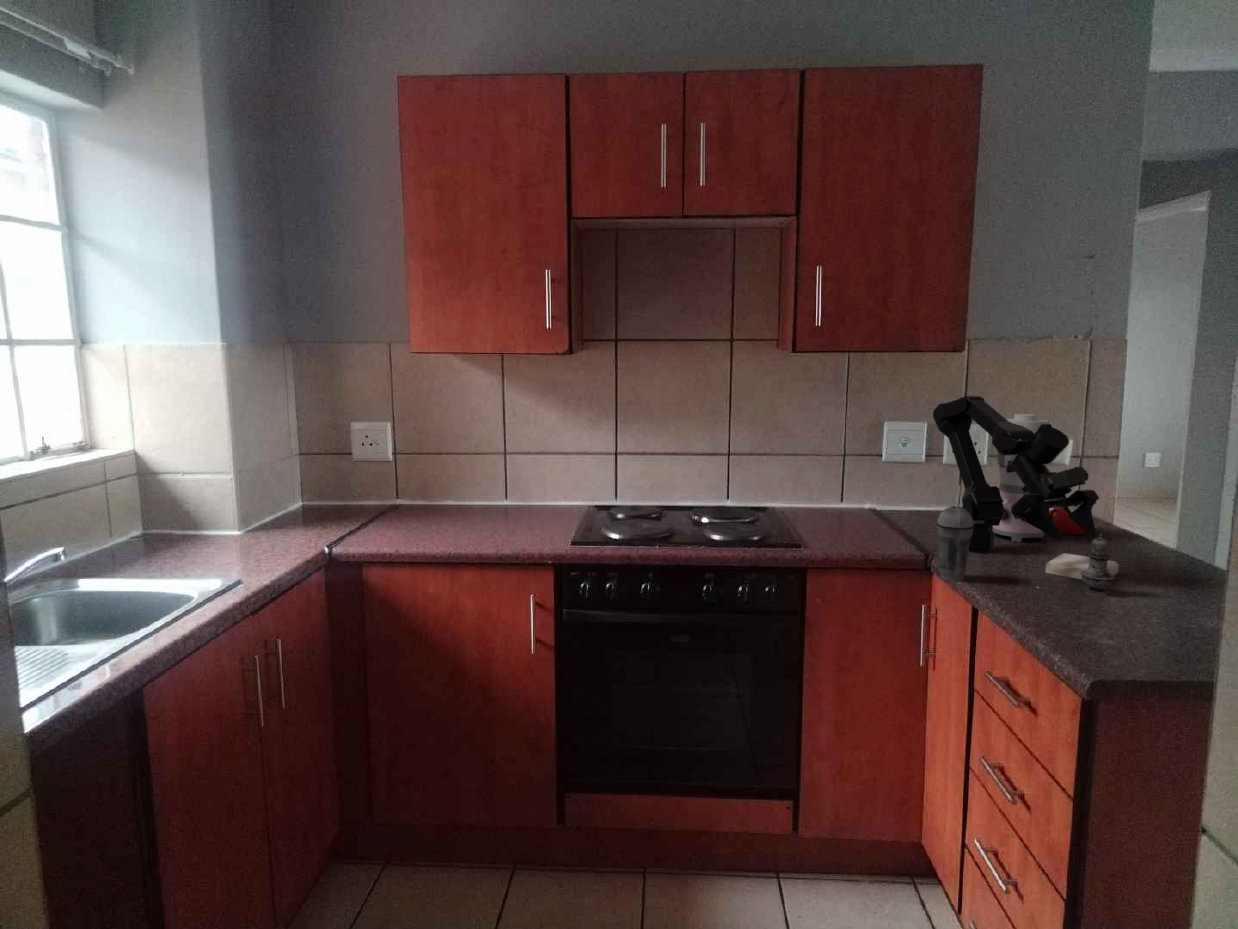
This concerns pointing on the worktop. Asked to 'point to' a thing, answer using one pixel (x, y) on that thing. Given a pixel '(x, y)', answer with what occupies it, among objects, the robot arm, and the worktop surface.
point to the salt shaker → (1097, 569)
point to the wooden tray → (1074, 565)
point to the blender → (1015, 488)
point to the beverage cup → (954, 540)
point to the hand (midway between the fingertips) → (1077, 537)
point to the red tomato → (1064, 522)
